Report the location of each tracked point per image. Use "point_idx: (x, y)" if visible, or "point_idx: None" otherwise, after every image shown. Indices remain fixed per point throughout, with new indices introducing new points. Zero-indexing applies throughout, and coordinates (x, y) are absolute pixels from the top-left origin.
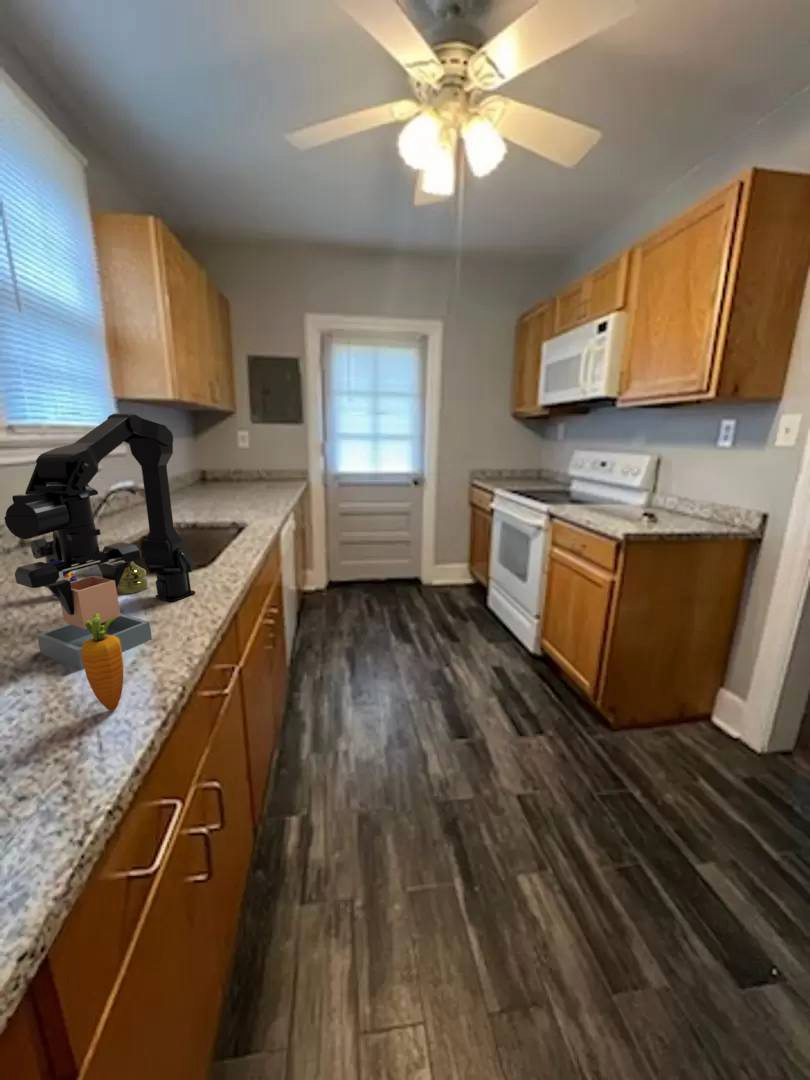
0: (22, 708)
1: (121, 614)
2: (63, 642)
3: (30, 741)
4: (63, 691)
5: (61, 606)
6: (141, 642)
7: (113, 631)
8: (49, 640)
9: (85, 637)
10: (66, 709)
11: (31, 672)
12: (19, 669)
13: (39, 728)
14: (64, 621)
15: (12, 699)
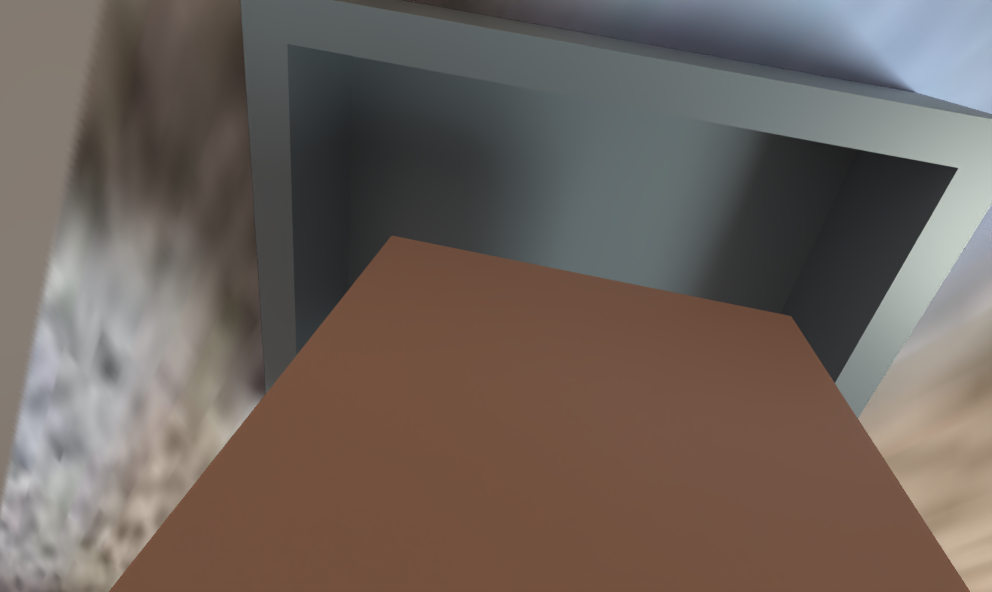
0: (59, 441)
1: (875, 365)
2: (286, 359)
3: (39, 577)
4: (196, 480)
5: (311, 342)
6: None
7: (767, 244)
8: (259, 213)
9: (624, 116)
10: None
11: (176, 209)
12: (145, 96)
13: (70, 559)
14: (386, 245)
15: (46, 357)
